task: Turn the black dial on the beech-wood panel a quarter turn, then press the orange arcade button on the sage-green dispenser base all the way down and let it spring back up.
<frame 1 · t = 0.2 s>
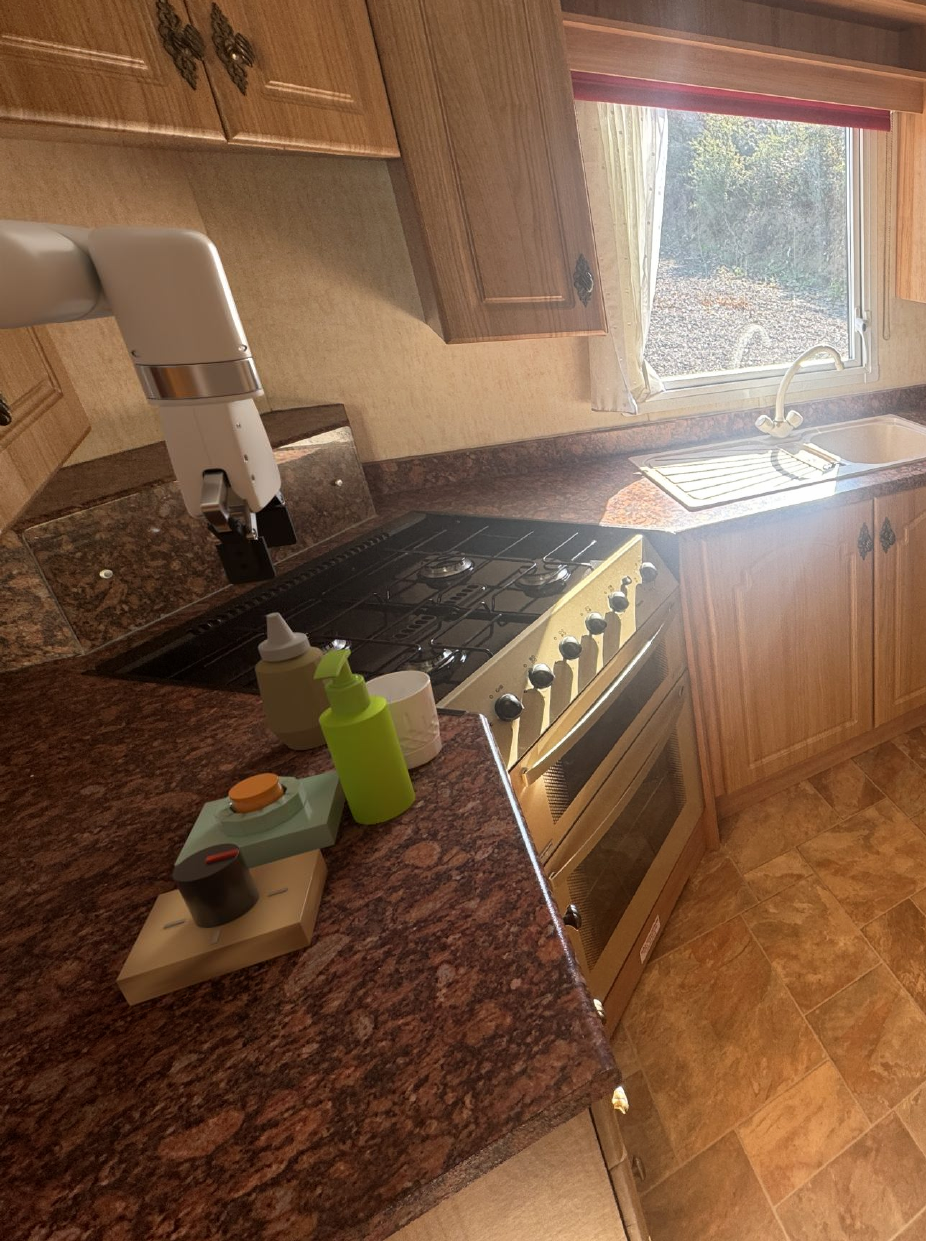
hand: (267, 562, 69), 31 cm above the countertop, tool pointing down, fingers open, 9 cm apart
white cup: (411, 756, 91), on the countertop
dial panel: (239, 931, 67), on the countertop
soap dispenser: (384, 810, 82), on the countertop
dial: (216, 883, 65), point 6 cm above the countertop, hinge at 0.0°
pump base: (273, 834, 78), on the countertop
orange arcade button: (256, 793, 76), point 6 cm above the countertop, slide at 0.1 cm
squeeze bottle: (317, 738, 94), on the countertop
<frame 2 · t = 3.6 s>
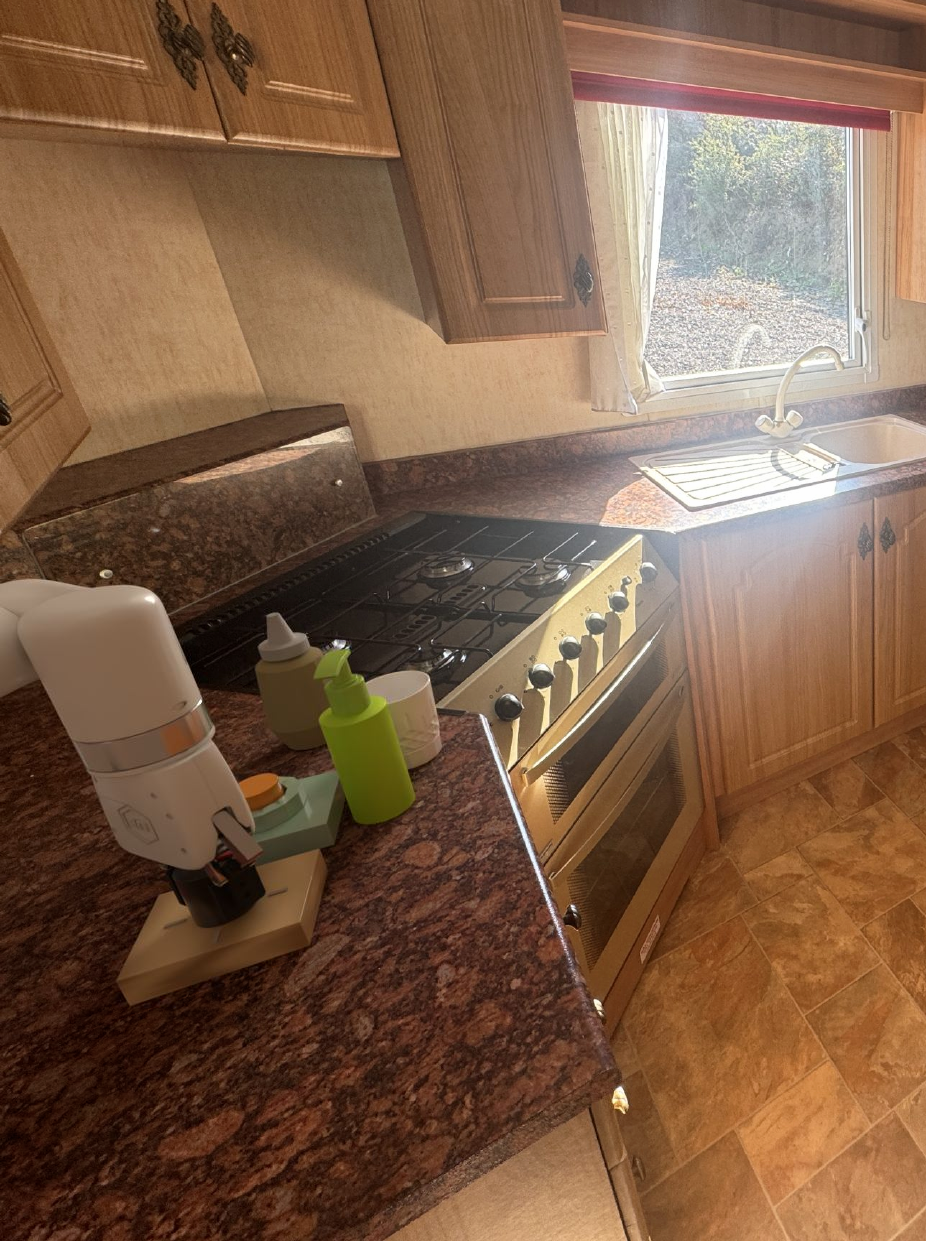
hand: (223, 898, 66), 4 cm above the countertop, tool pointing down, fingers closed on dial, 4 cm apart
dial: (216, 883, 65), point 6 cm above the countertop, hinge at -0.1°, touching gripper
everything else where it was.
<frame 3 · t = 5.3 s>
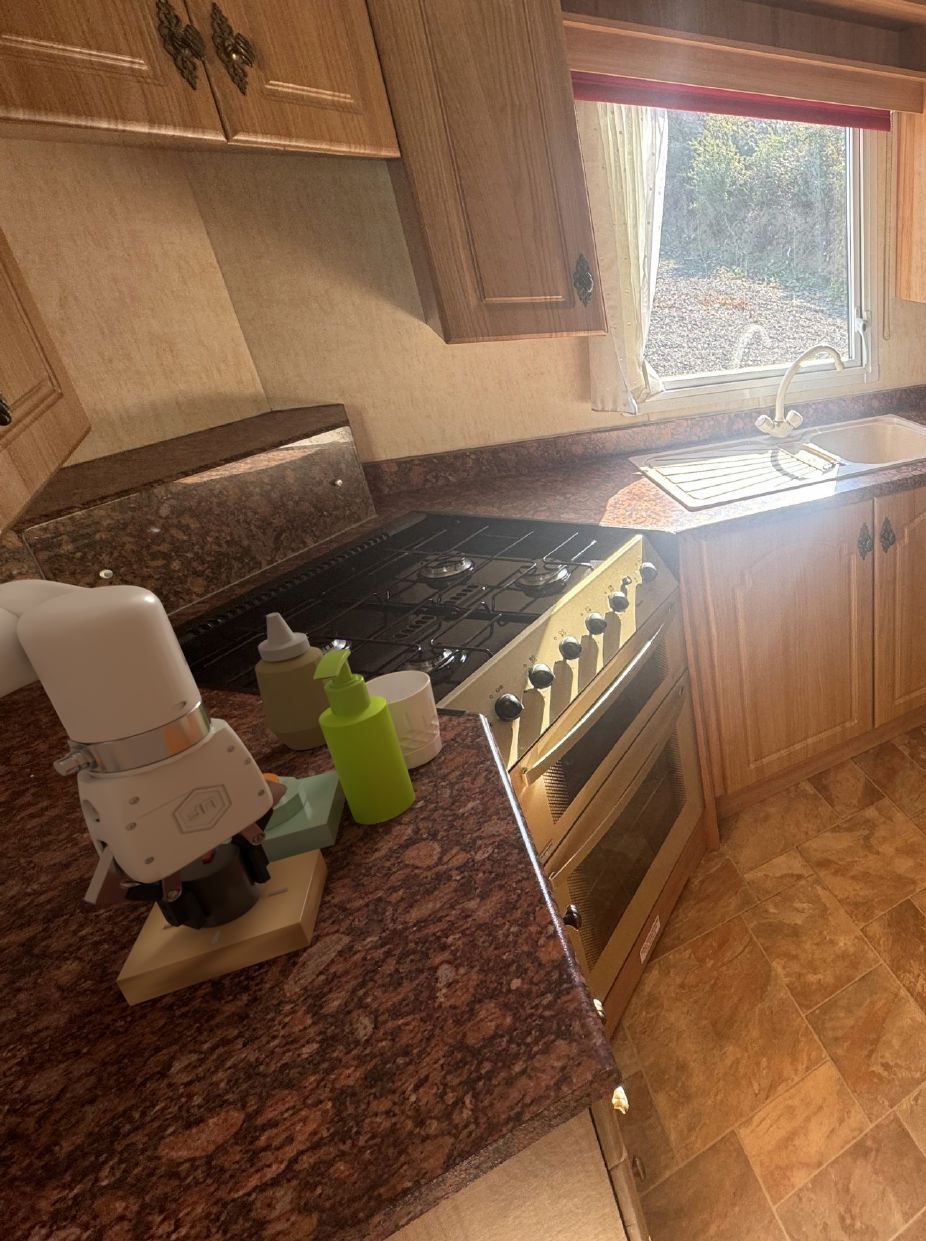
hand: (224, 898, 66), 4 cm above the countertop, tool pointing down, fingers closed on dial, 4 cm apart
dial: (216, 883, 65), point 6 cm above the countertop, hinge at 90.4°, touching gripper
everything else where it was.
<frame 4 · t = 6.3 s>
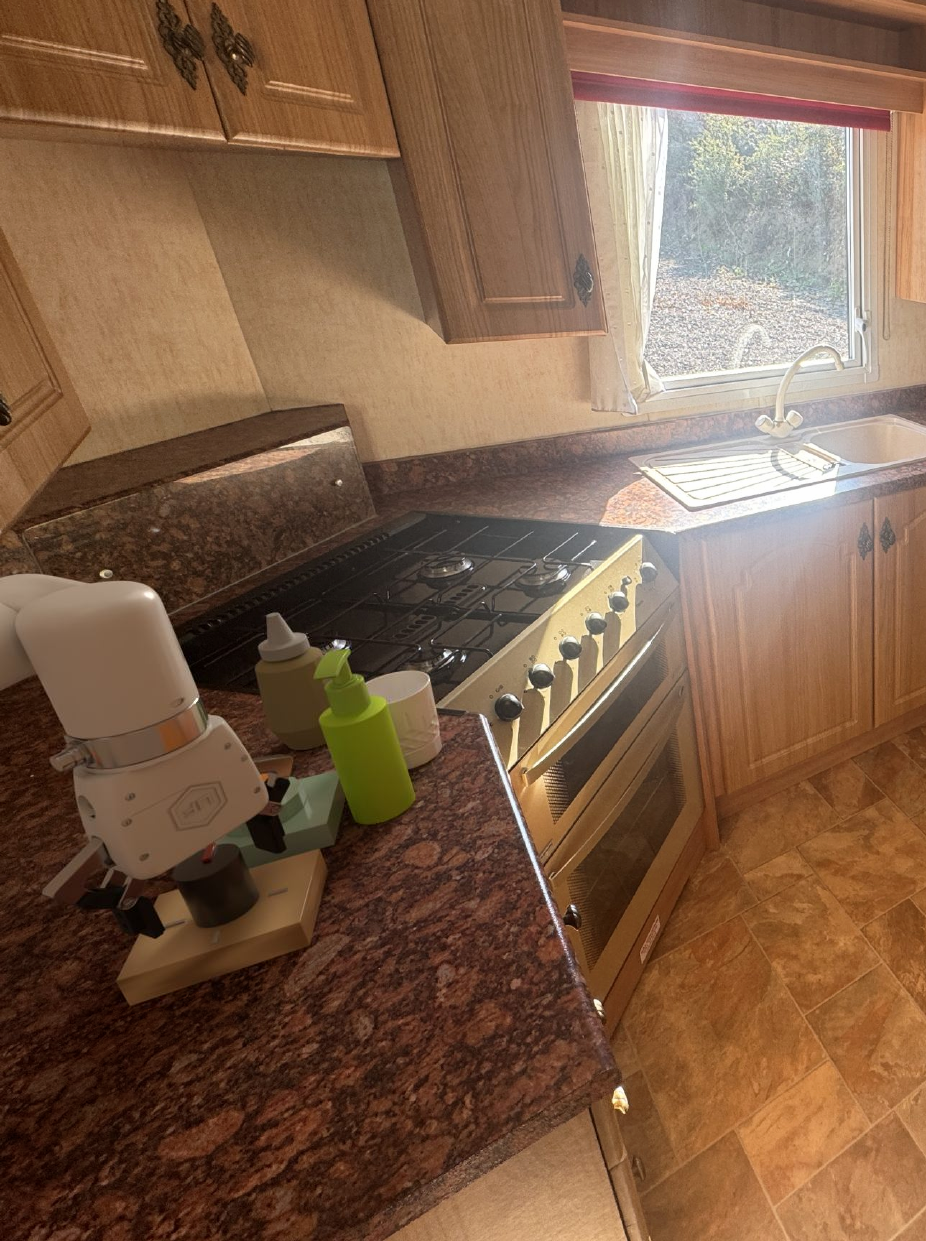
hand: (214, 887, 65), 5 cm above the countertop, tool pointing down, fingers open, 9 cm apart
dial: (216, 883, 65), point 6 cm above the countertop, hinge at 91.8°
everything else where it was.
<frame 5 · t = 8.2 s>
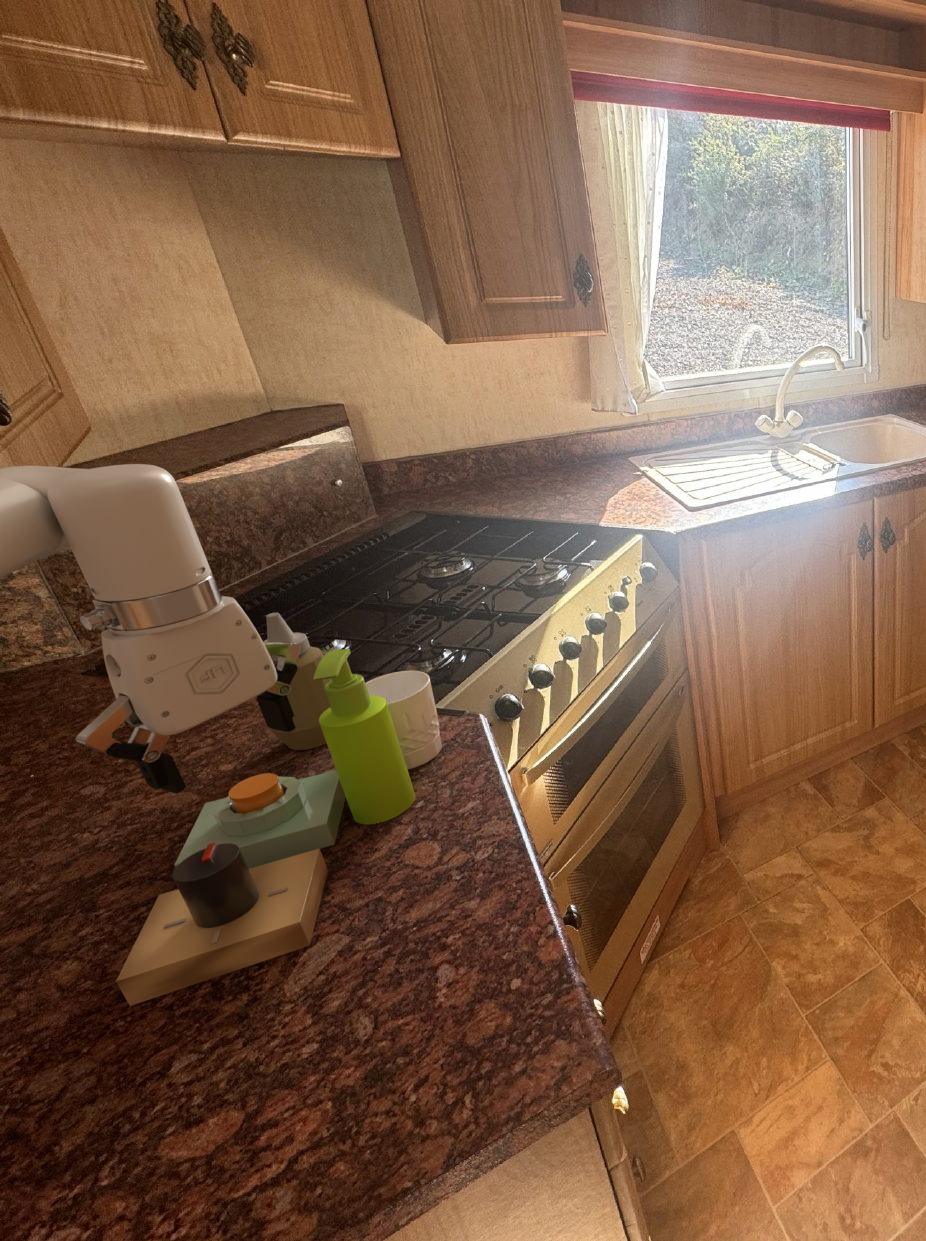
hand: (230, 756, 72), 12 cm above the countertop, tool pointing down, fingers open, 9 cm apart
nothing on the countertop moved.
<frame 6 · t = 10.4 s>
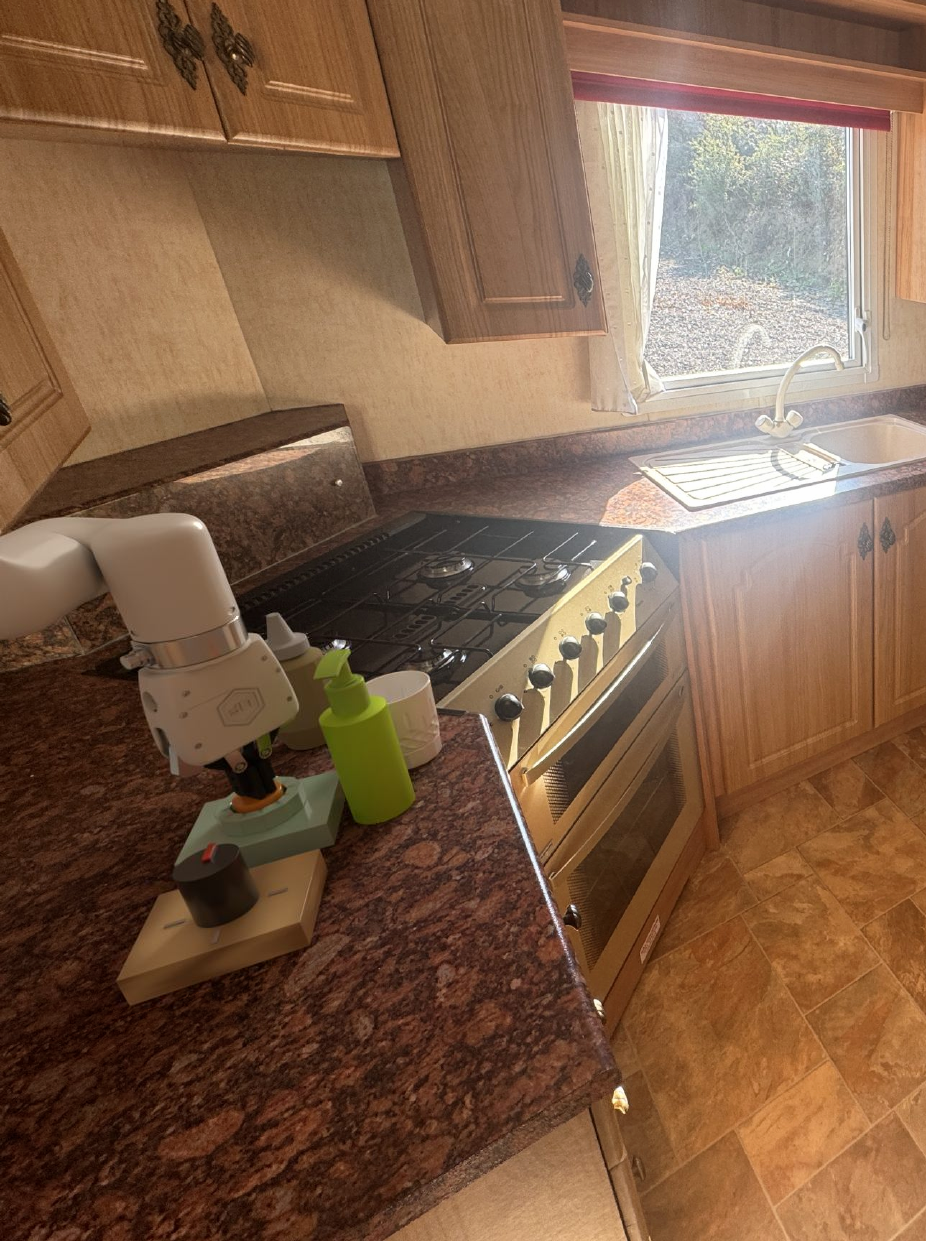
hand: (258, 792, 76), 6 cm above the countertop, tool pointing down, fingers closed
orange arcade button: (259, 800, 77), point 5 cm above the countertop, slide at -0.9 cm, touching gripper
everything else where it was.
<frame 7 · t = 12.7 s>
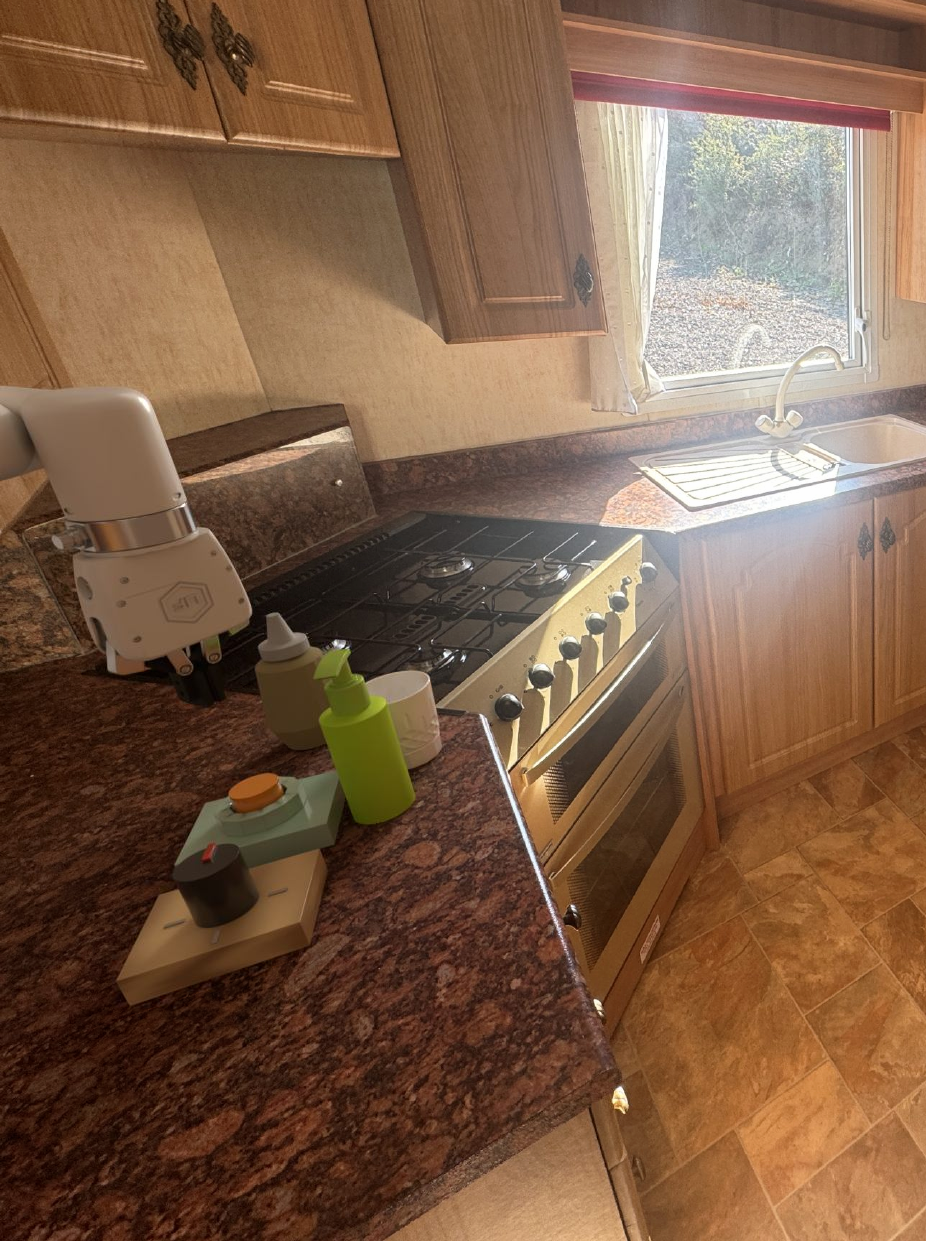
hand: (206, 701, 72), 17 cm above the countertop, tool pointing down, fingers closed
orange arcade button: (256, 793, 76), point 6 cm above the countertop, slide at 0.1 cm
everything else where it was.
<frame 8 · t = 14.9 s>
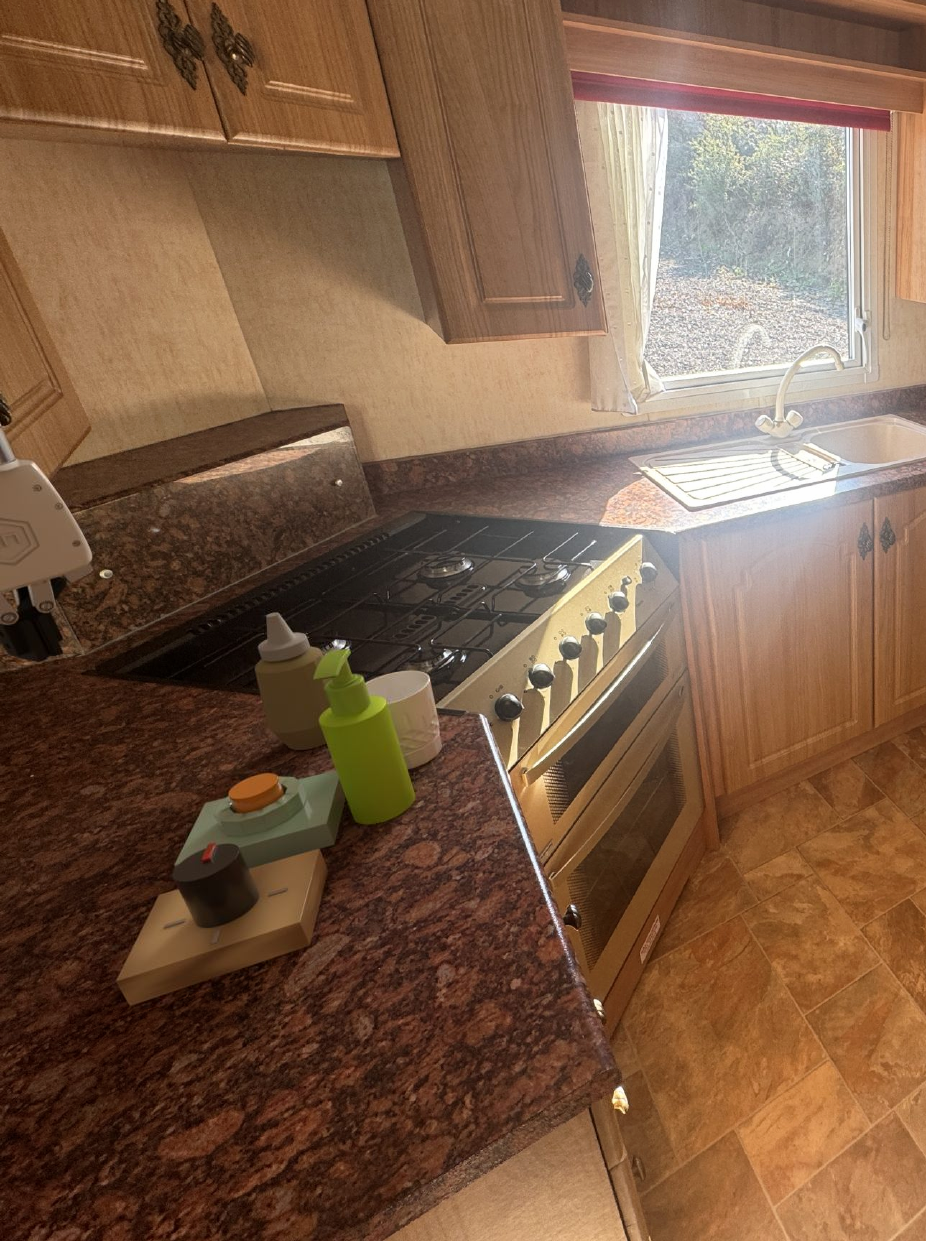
hand: (40, 655, 64), 25 cm above the countertop, tool pointing down, fingers closed
nothing on the countertop moved.
at the end: dial at +92° (first picture: +0°); orange arcade button pushed in 1.3 cm at the most during the clip, back to where it started at the end; orange arcade button slide at 0.1 cm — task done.
